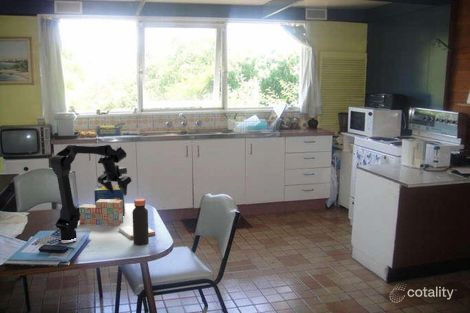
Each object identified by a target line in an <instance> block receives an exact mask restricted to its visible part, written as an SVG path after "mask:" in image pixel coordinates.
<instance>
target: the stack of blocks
mask: <svg viewBox="0 0 470 313" xmlns="http://www.w3.org/2000/svg"><path fill="white" fill-rule="evenodd" d="M95 204H96V205H95ZM78 207H79V211H80V215H81V216H80V220H79V222H78V224H79V225H90V226H112V227H113V226H114V227H115V226H116V227H118V226H119V227H120V226H121V225H122V224H123V223H124V217H123V200H117V199H99V200H98V201H96V202H95V201H94V204H91V203H89V204H88V203H85V204H84V203H83V204H81V205H79V206H78ZM121 223H122V224H121ZM120 224H121V225H120Z"/></svg>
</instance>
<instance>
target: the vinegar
mask: <svg viewBox="0 0 470 313" xmlns="http://www.w3.org/2000/svg"><path fill="white" fill-rule="evenodd" d="M133 201H134V203H133V204H134V209H133V210H132V214H131V215H132V225H133V239H132V240H133V244H134V245H136V246H144V245H147V244H148V243H149V242H150V238H149V237H150V236H149V232H148V228H149V211H148V210H149V209H147V208H146V204H147V203H146V199H145V198H136V199H134V200H133Z"/></svg>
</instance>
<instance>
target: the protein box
mask: <svg viewBox="0 0 470 313" xmlns="http://www.w3.org/2000/svg"><path fill="white" fill-rule="evenodd" d="M112 187H113V191H114V193H111V192H110V191H109V190H108V189H106V188H105V187H104V186H103V185H96V186H95V188H94V189H93V190H94V192H93V193H94V194H93V195H94V205H96V204H95V202H96V201H98V200H99V199H117V200H123V216H124V217H125V214H126V203H125V202H126V200H125V199H126V198H125V197H126V196H125V195H124V194H123V193H122V191H121V190H120V188H119V185H118V184H117V185H114V184H113V185H112Z"/></svg>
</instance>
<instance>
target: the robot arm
mask: <svg viewBox="0 0 470 313" xmlns="http://www.w3.org/2000/svg"><path fill="white" fill-rule="evenodd" d="M78 154H82V155H83V154H89V155H90V154H91V155H92V154H93V155H95V156H99V159H98V161H97V164H100V165H101V164H102V166H103V171H102V172H103V173H102V174H101V175H99V176H98V177H97V182H98V184H100V186H104V187H105V188H106V189H108V190H109V191H110V192H111V193H114V191H113V187H112V186H113V185H112V183H113V182H114V183H115V182H116V183H117V185H119V188H120V190H121V191H122V193H123V194H124V196H125V197H126V196H127V194H128V193H127V192H128V185H130V183H132V182H133V180H132V177H131V176H126V174H128V169H127V167H126V166H119V165H118V164H117V163H120V162H121V161H122V160H124V159H126V158H127V152H126V151H125V150H124V149H123V148H122V146H120V145H119V146H116V147H115V148H113V147H112V145H111V144H105V143H98V144H94V145H77V144H68V145H67V146H65V148H63V149H62V150H60V151H58V152H57V153H56V154H55V155H54V156H52V158H51V159H50V161H49V162H50V166H51V169H52V171H53V173H54V175H56V178H57V184H58V189H59V196H60V200H61V209H60V210H59V218H58V219H57V221H56V222H55V228H57V229H58V235H59V239H61V240H71V239H74V238H77V230H76V229H78V226H79V220H80V216H81V215H80V211H79V207H80V206H75V205H74V204H75V203H74V199H73V194H72V188H71V181H70V175H69V174H70V173H71V169H72V166H71V165H72V163H73V162H75V159H76V155H78ZM100 156H101V157H100Z"/></svg>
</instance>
